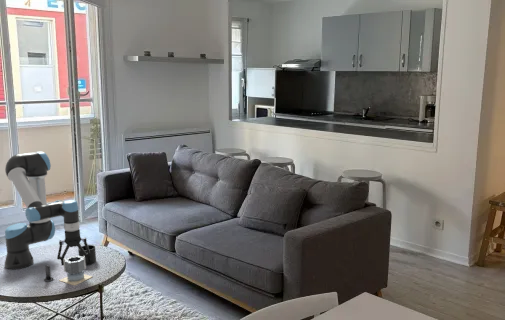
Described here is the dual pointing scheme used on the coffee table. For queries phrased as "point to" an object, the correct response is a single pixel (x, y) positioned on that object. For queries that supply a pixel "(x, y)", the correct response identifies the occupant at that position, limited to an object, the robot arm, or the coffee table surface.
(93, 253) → the black cup
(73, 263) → the ring
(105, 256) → the coffee table surface
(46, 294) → the coffee table surface
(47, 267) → the stand
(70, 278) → the hub
